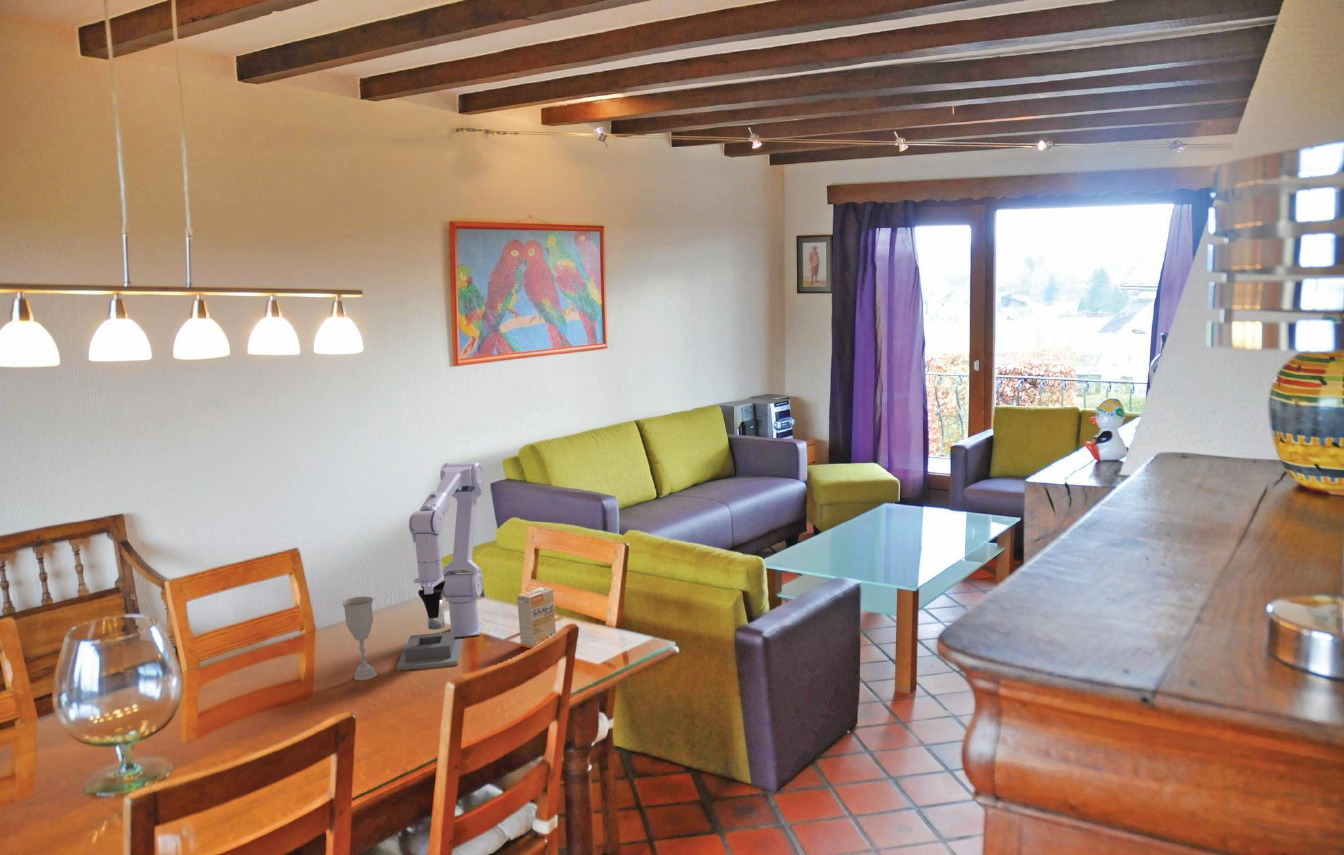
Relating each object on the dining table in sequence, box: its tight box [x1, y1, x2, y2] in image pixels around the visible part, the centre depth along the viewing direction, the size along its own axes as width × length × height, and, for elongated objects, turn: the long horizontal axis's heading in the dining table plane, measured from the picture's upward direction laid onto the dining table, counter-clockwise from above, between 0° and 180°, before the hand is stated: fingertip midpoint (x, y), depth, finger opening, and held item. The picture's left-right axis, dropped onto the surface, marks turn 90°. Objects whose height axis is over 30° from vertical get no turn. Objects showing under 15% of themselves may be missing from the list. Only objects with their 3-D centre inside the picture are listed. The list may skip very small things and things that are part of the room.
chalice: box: [341, 596, 378, 681], centre depth 233 cm, size 7×7×18 cm
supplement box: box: [516, 586, 557, 649], centre depth 249 cm, size 8×5×13 cm, turn 143°
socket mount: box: [395, 631, 464, 672], centre depth 244 cm, size 16×14×4 cm
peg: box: [426, 594, 446, 630], centre depth 243 cm, size 4×4×8 cm
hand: (434, 614), depth 243 cm, fingers closed on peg, 4 cm apart
